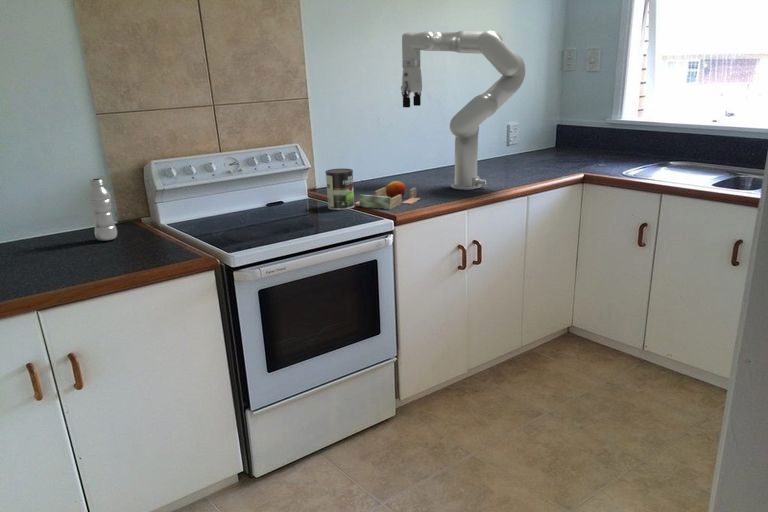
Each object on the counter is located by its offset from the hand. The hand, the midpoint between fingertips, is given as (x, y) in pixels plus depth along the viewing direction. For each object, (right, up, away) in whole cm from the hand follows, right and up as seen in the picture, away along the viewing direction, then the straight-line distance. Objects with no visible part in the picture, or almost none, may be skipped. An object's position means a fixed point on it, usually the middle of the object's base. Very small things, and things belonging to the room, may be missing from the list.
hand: (411, 106), depth 250 cm
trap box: (-10, -42, -18) cm, 47 cm away
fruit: (-7, -41, -13) cm, 43 cm away
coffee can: (-28, -45, -25) cm, 59 cm away
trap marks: (-10, -42, -18) cm, 47 cm away
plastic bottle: (-102, -59, -58) cm, 131 cm away
